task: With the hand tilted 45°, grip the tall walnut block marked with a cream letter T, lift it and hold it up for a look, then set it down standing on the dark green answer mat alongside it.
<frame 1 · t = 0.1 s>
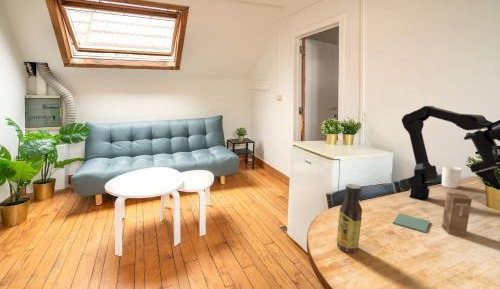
answer mat: (411, 223, 96), on the table
sauce bottle: (347, 248, 79), on the table
white cup: (449, 186, 138), on the table
letter block: (453, 231, 90), on the table
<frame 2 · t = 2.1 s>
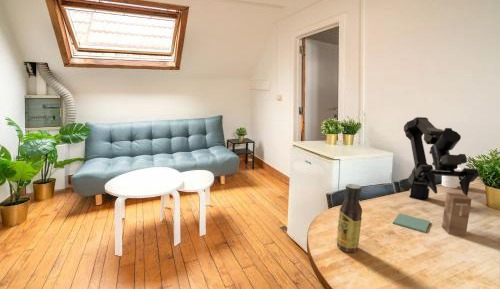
hand: (451, 194, 93), 11 cm above the table, tool tilted 45°, fingers open, 9 cm apart
nothing on the table moved.
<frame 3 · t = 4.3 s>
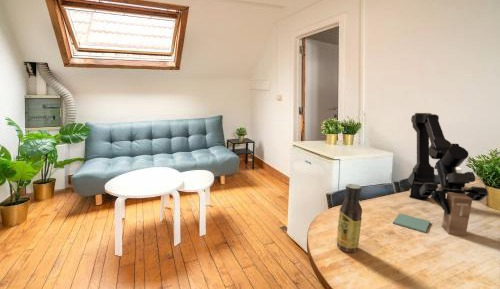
hand: (458, 214, 88), 7 cm above the table, tool tilted 45°, fingers closed on letter block, 5 cm apart
letter block: (453, 231, 90), on the table, touching gripper
everything else where it was.
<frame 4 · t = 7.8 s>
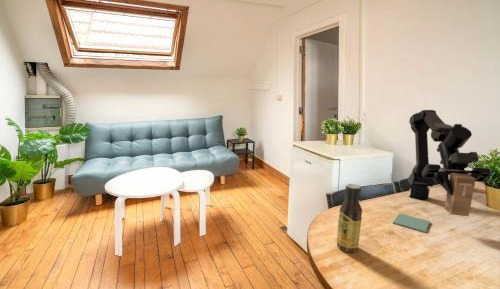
hand: (461, 195, 86), 13 cm above the table, tool tilted 45°, fingers closed on letter block, 5 cm apart
letter block: (456, 212, 89), point 7 cm above the table, touching gripper
everything else where it was.
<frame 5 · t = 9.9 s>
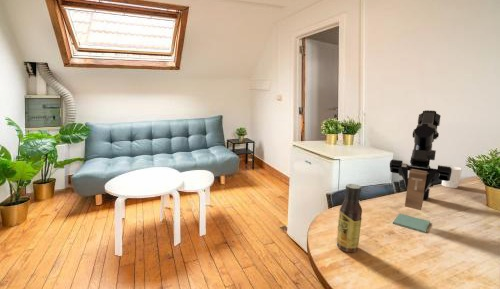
hand: (415, 189, 92), 13 cm above the table, tool tilted 45°, fingers closed on letter block, 5 cm apart
letter block: (413, 206, 95), point 7 cm above the table, touching gripper
everything else where it was.
when the fingers open (8 cm above the table, at t = 11.3 s): letter block drops 1 cm, resting on answer mat.
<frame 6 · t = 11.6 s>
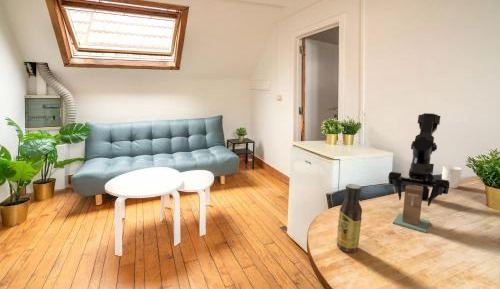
hand: (413, 202, 93), 8 cm above the table, tool tilted 45°, fingers open, 8 cm apart
letter block: (411, 221, 96), point 1 cm above the table, touching answer mat
everything else where it was.
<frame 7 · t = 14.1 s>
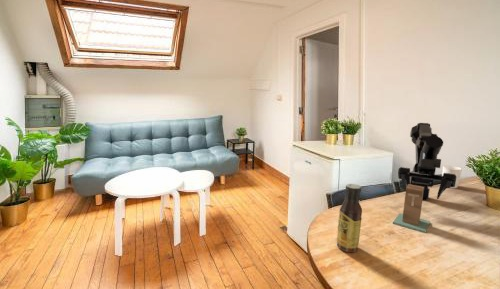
hand: (422, 195, 100), 8 cm above the table, tool tilted 45°, fingers open, 9 cm apart
nothing on the table moved.
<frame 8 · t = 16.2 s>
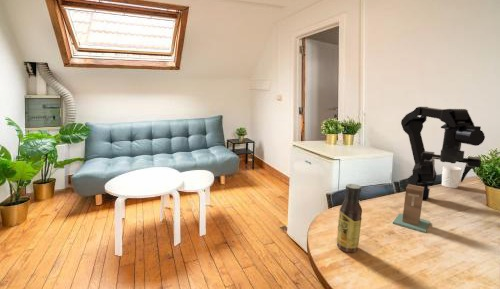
hand: (446, 179, 105), 13 cm above the table, tool pointing down, fingers open, 9 cm apart
nothing on the table moved.
at the end: letter block inside the target area on the answer mat (0.2 cm from its centre), point 0.6 cm above the answer mat's base; letter block tilted 0°; the gripper is holding nothing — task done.
